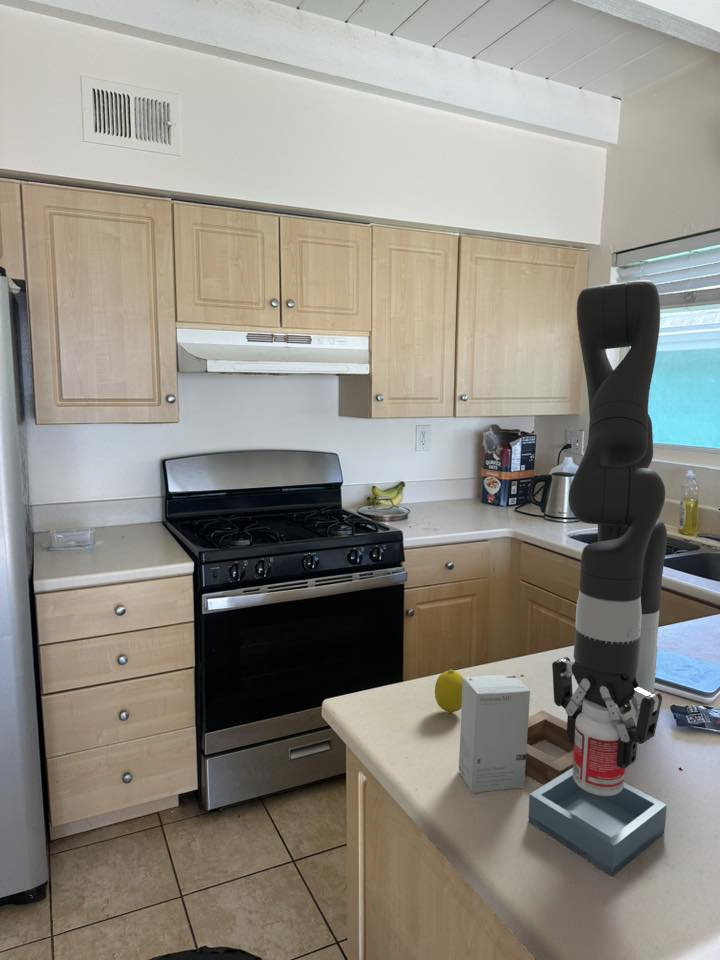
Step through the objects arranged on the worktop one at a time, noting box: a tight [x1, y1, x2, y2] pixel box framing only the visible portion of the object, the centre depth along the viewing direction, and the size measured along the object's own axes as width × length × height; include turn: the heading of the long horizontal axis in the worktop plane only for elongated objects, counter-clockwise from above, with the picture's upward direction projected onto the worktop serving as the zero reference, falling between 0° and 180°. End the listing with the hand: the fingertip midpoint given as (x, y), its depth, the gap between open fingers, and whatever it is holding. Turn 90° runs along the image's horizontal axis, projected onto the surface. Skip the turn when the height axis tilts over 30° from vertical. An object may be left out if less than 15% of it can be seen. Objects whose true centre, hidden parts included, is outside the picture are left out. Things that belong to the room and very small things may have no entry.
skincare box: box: [458, 674, 531, 794], centre depth 93 cm, size 8×6×15 cm
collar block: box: [525, 710, 574, 786], centre depth 99 cm, size 12×12×4 cm
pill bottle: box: [573, 698, 626, 796], centre depth 82 cm, size 6×6×11 cm
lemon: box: [434, 669, 464, 715], centre depth 112 cm, size 6×6×8 cm
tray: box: [528, 768, 668, 877], centre depth 84 cm, size 12×12×4 cm
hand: (599, 752), depth 83 cm, fingers closed on pill bottle, 6 cm apart
